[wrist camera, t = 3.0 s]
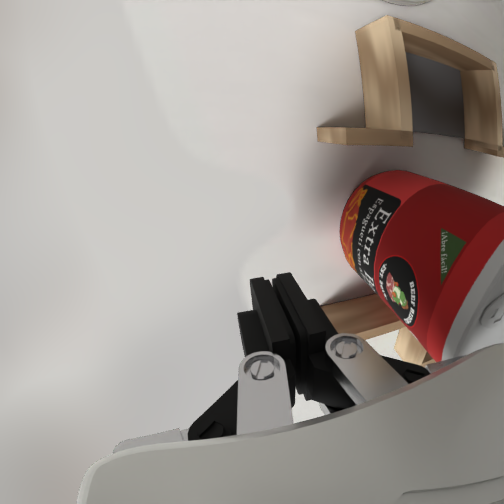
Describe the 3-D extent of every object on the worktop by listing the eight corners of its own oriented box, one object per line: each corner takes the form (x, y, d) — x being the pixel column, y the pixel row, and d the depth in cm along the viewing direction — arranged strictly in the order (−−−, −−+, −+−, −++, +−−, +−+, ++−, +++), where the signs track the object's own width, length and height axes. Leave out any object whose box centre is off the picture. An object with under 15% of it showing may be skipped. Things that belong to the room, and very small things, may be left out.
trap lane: (305, 24, 11) (329, 2, 8) (511, 88, 14) (537, 91, 11) (314, 372, 22) (327, 403, 19) (482, 309, 24) (500, 325, 21)
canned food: (329, 176, 15) (483, 255, 5) (428, 162, 16) (562, 212, 6) (337, 287, 19) (427, 411, 9) (424, 258, 19) (522, 340, 9)
